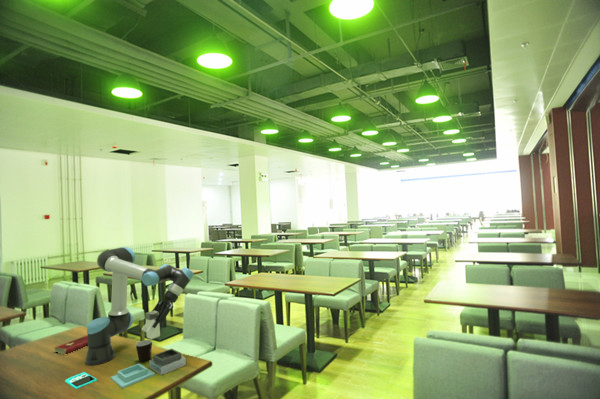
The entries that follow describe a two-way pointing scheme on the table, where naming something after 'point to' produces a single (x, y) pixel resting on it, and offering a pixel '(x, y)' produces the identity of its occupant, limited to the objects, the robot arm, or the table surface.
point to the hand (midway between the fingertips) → (146, 331)
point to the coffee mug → (144, 350)
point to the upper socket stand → (167, 361)
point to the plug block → (149, 320)
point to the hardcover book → (72, 345)
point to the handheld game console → (80, 380)
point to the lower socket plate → (132, 375)
